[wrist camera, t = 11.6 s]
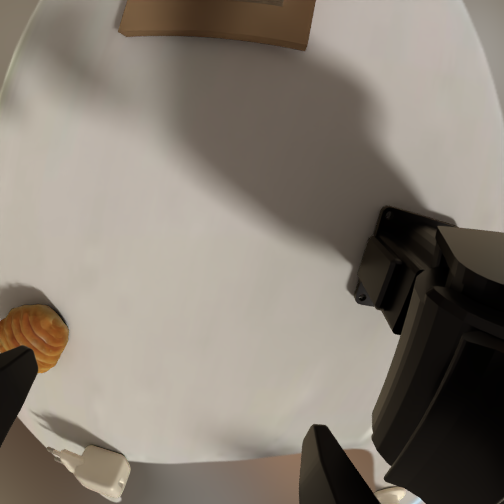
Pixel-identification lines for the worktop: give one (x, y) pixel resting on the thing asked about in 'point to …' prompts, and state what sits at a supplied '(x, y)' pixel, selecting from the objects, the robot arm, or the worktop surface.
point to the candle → (390, 495)
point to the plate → (221, 20)
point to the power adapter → (97, 469)
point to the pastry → (35, 333)
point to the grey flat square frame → (265, 2)
